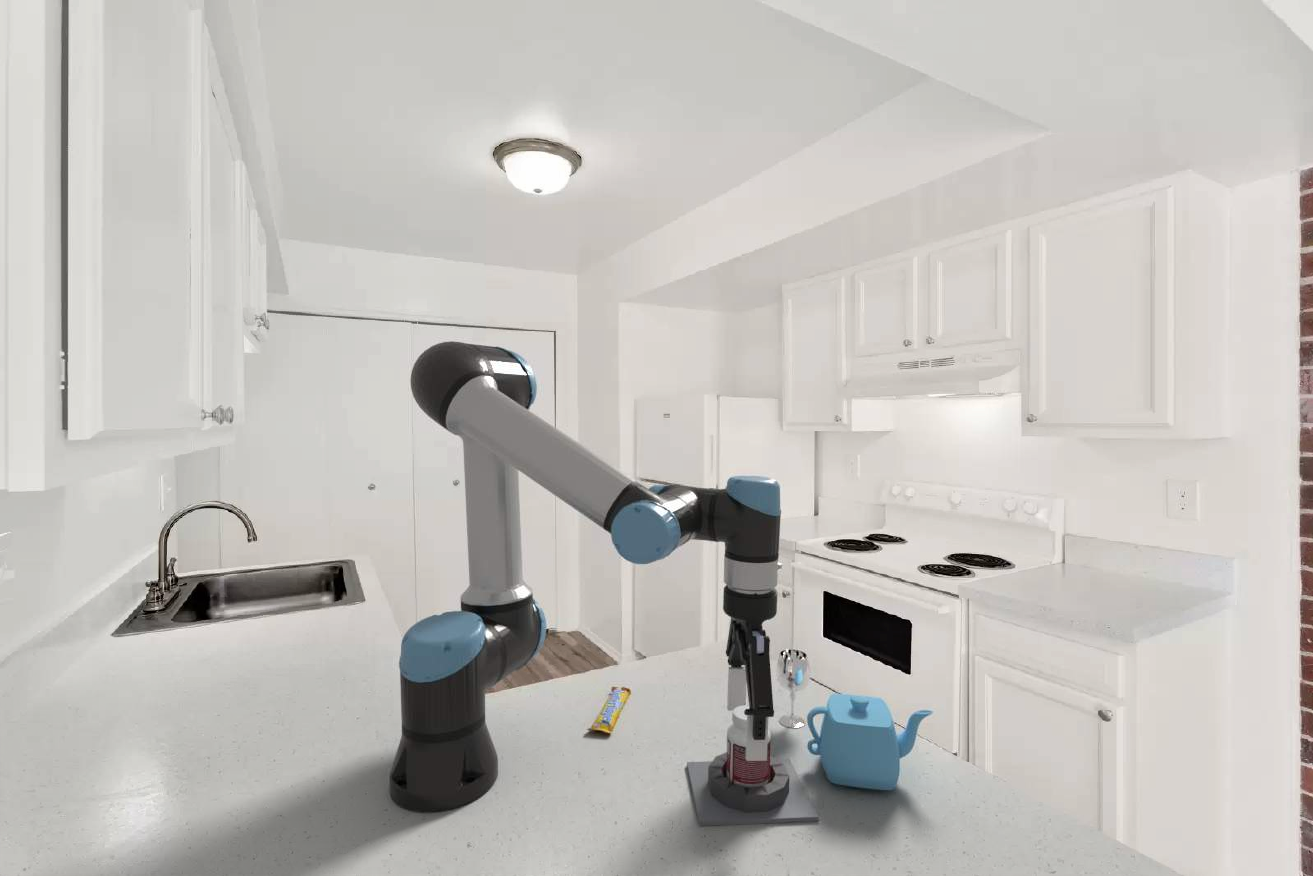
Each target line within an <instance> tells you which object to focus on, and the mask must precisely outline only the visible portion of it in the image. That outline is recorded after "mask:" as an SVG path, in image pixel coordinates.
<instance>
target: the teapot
mask: <svg viewBox="0 0 1313 876" xmlns="http://www.w3.org/2000/svg"><path fill="white" fill-rule="evenodd" d="M933 713H934V711H933V710H928V709H924V710H916V711H915V712H913V713H912V714H911V715H910V716H909V718H908V721H907V724H906V727H905V729H904V730H903V731H901V733H897V731H896V726H895V723H894V719H893V716H892V713H891V710H890V708H889V706H888V705H887V703H886V702H885V700H883V699H882V698H881V697H875V696H866V695H858V694H857V695H856V694H848V693H846V694H845V693H832V694H830V695H829V697H828V699H827V703H826V706H822V705H820V706H816V707H813V708H812V709H811V710H810V711H808V714H807V717H806V722H807V726H808V728H809V732H810V733H811V736H812V737H813V738H812V739H810V740H808V742H807V745H806V747H807V750H808V752H809V753H810V754H811V755H814V756H819V757H820V761H821V764H822V767H823V770H824V772H825V776H826V777H827V780H829V782H830V783H833V784H835V785H840V786H846V787H853V788H859V789H868V790H879V791H893V790H894V789H895V788H896V786H897V784H898V781H899V776H900V772H901V771H900V770H901V769H900V767H901V765H900V763H901V762H900V759H902V758H904V757H906V756H907V755H909V754H910V753H911V751H912V750H913V748H914V746H915V743H916V739H917V734H918V730H919V726H920V724H921V722H922V721H923V720H924V719H925V718H926V717H929V716H931V715H932V714H933ZM820 714H822V715H823V718H822V721H821V727H820V732H819V733H820V734H819V733H818V731H817V729H816V727H815V724H814V717H816V716H817V715H820ZM813 745H816V746H817V747H814V746H813Z"/></svg>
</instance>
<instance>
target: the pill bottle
mask: <svg viewBox="0 0 1313 876" xmlns="http://www.w3.org/2000/svg"><path fill="white" fill-rule="evenodd" d="M746 709H749V704H748V705H747V704H746V705H744V706H738V707H736V708H735V709H734V710H733V711H732V717H731V718H732V719H731V720H732V723H731V724H730V725H729V726H728V728H727V730H726V731H727V732H726V733H727V734H726V752H727V775H726V778H727V779H728V780H729V781H731V782H732V783H734V784H737V785H741V786H744V787H762V786H764V785H766V784H768V783H770V755H771V742H772V741H771V739H772V738H771V735H772V734H771V732H770V729H769V728H768V744H767V761H746V758H745V757H746V729H747V715H745V714H744V711H745V710H746Z"/></svg>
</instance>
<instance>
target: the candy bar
mask: <svg viewBox="0 0 1313 876" xmlns="http://www.w3.org/2000/svg"><path fill="white" fill-rule="evenodd" d="M618 688H619V687H617V686H612V687H611V691H610V692H611V694H610V695H609V697H608V699H607V701H606V703H605V704H604V706H603V707H602V710H601V711H600V712H599V714H598V716H597V717H596V719H595V721H594V722H593V724H592V725H591V727H588V728H587V729H586V730H587V731H600V732H603V733H606V734H612V733H613V730H614V728H615V726H616V724H617V721H618V720H617V719H619V717H620V715H621V713H622V711H623V709H624V707H625V705H626V703H627V701H626V700H628V699H629V697H630V695H631V694H632V691H631V689H630V688H629V687H625V686H621V687H620V688H621V689H618ZM628 696H629V697H628ZM623 706H624V707H623ZM621 710H622V711H621ZM620 712H621V713H620ZM619 714H620V715H619Z"/></svg>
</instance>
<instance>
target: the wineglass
mask: <svg viewBox="0 0 1313 876" xmlns="http://www.w3.org/2000/svg"><path fill="white" fill-rule="evenodd" d="M775 669H776V671H775V672H776V673H775V674H776V681H777V683H778V684H779V686H781V687H780V688H782V689H783V690H785V691H788V692H790V693H789V699H790V714H785V715H782V716H780V717H779V723H780V724H781V725H782V726H784V727H786V728H790V729H800V728H802V727H804V726H805V725H806V720H805V718H804V719H803V717H800V716H799V715H795V713H794V712H795V708H794V705H795V700H796V692H797V693H798V692H801V691H804V690H805V689H806V688H807V687H808V685H809V684H810V679H811V670H810V669H811V668H810V663H809V659H808V655H807V653H806V652H804V651H802V650H799V649H789V648H788V649H783V650H780V652H779V655H778V658H777V663H776V668H775Z"/></svg>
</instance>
